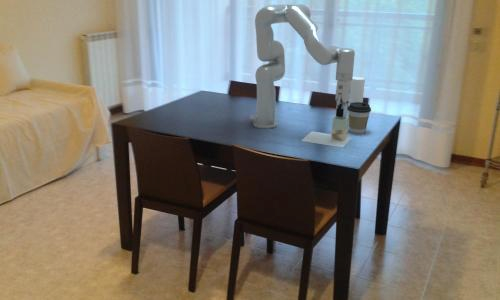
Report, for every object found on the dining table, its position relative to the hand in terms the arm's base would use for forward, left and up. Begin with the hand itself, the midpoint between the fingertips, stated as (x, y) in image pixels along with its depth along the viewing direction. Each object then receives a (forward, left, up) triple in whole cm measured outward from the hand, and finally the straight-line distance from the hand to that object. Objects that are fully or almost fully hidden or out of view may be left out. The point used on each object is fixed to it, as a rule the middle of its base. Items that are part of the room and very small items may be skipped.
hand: (341, 114), depth 225 cm
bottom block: (0, 0, -11) cm, 11 cm away
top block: (0, 0, -6) cm, 6 cm away
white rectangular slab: (-5, -4, -13) cm, 14 cm away
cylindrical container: (0, +28, -13) cm, 31 cm away
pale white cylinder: (0, 0, 0) cm, 0 cm away
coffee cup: (+5, +15, -13) cm, 21 cm away
